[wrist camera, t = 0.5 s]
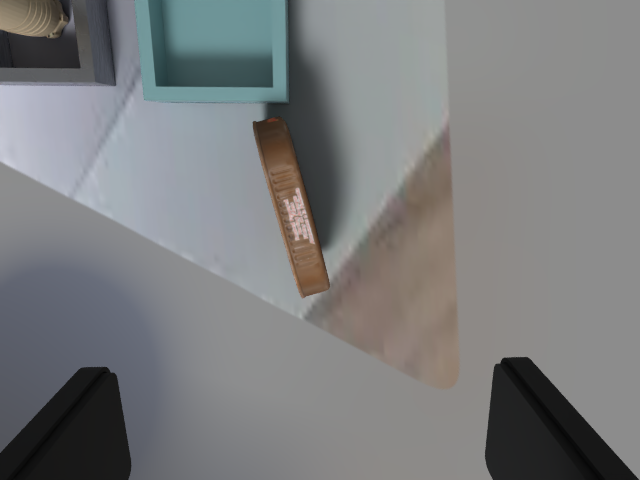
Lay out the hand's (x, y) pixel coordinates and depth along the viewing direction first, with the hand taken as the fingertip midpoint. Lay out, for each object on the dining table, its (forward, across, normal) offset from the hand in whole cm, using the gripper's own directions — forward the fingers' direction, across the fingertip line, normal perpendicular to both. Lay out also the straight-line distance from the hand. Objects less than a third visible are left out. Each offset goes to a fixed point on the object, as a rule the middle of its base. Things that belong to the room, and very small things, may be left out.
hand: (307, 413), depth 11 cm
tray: (+30, +7, -14) cm, 34 cm away
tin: (+30, +2, 0) cm, 30 cm away
